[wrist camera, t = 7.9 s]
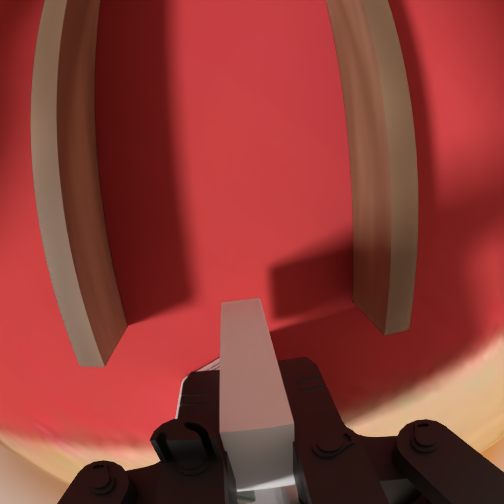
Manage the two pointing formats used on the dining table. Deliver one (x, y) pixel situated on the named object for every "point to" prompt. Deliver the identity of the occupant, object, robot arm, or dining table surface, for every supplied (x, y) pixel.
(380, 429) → the dining table surface
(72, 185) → the walnut frame
